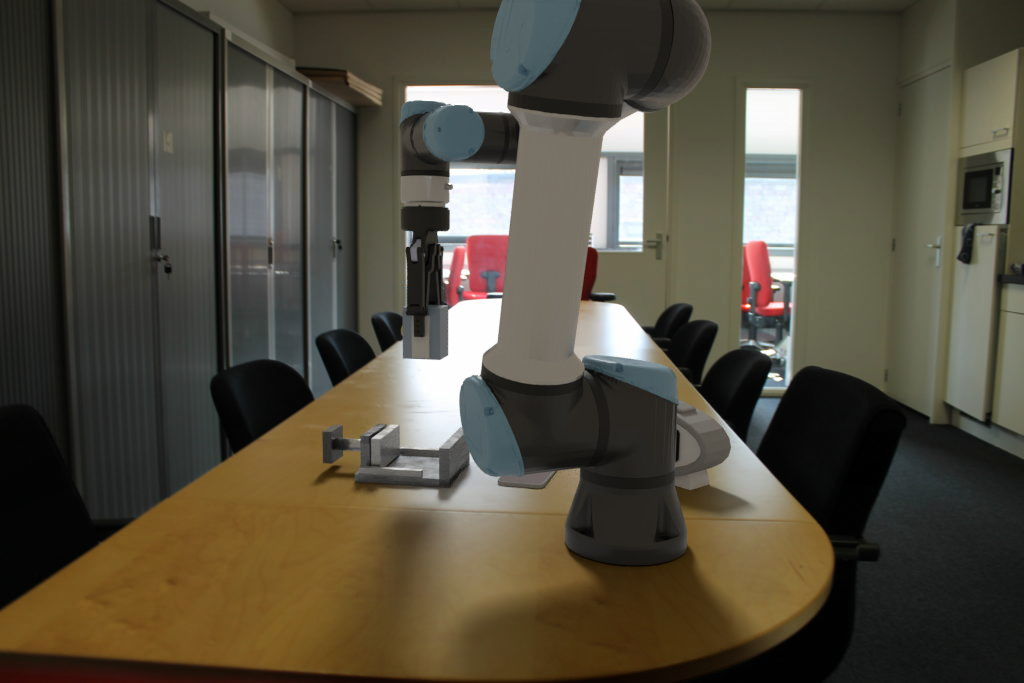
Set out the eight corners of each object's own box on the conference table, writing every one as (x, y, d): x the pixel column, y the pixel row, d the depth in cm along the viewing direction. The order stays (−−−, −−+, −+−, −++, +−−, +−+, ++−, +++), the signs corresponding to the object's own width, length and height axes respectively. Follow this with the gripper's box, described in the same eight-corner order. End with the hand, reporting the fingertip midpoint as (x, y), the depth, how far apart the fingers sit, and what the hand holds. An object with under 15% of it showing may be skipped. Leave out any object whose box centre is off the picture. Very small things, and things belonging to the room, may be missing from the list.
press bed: (449, 487, 126) (449, 444, 125) (354, 481, 128) (354, 439, 128) (469, 462, 140) (469, 424, 139) (383, 457, 142) (383, 420, 141)
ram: (380, 471, 130) (380, 438, 129) (316, 467, 131) (316, 435, 131) (399, 454, 139) (399, 424, 139) (340, 451, 141) (339, 421, 140)
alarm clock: (591, 463, 140) (593, 388, 139) (616, 457, 144) (618, 384, 143) (704, 496, 123) (707, 411, 121) (729, 489, 127) (732, 406, 125)
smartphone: (563, 460, 140) (542, 485, 126) (562, 465, 140) (542, 490, 126) (520, 457, 142) (495, 480, 128) (520, 462, 142) (495, 486, 128)
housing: (440, 359, 128) (440, 308, 127) (397, 358, 130) (397, 307, 128) (448, 355, 133) (448, 305, 132) (407, 353, 134) (407, 304, 133)
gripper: (433, 203, 119) (434, 364, 122) (462, 207, 136) (462, 348, 139) (383, 203, 120) (384, 362, 123) (418, 207, 138) (418, 346, 141)
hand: (425, 354), depth 131 cm, fingers closed on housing, 5 cm apart
